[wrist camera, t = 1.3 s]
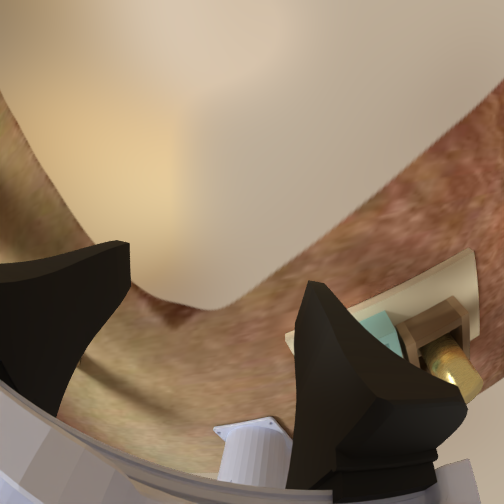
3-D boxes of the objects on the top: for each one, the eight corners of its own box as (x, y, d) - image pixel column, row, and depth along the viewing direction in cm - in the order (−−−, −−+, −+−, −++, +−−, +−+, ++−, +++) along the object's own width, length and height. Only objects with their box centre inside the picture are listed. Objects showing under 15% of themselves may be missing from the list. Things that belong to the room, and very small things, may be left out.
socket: (398, 358, 22) (407, 379, 19) (339, 382, 23) (343, 405, 21) (384, 310, 20) (396, 331, 18) (317, 338, 22) (320, 362, 19)
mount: (457, 342, 21) (469, 360, 18) (405, 368, 22) (414, 389, 20) (452, 295, 19) (469, 312, 17) (395, 325, 21) (406, 346, 18)
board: (475, 329, 21) (479, 334, 20) (323, 399, 26) (324, 406, 25) (468, 247, 19) (474, 251, 18) (285, 333, 23) (285, 340, 22)
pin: (444, 338, 21) (481, 395, 13) (416, 353, 22) (447, 415, 14) (442, 314, 20) (484, 370, 13) (412, 330, 21) (447, 393, 13)
